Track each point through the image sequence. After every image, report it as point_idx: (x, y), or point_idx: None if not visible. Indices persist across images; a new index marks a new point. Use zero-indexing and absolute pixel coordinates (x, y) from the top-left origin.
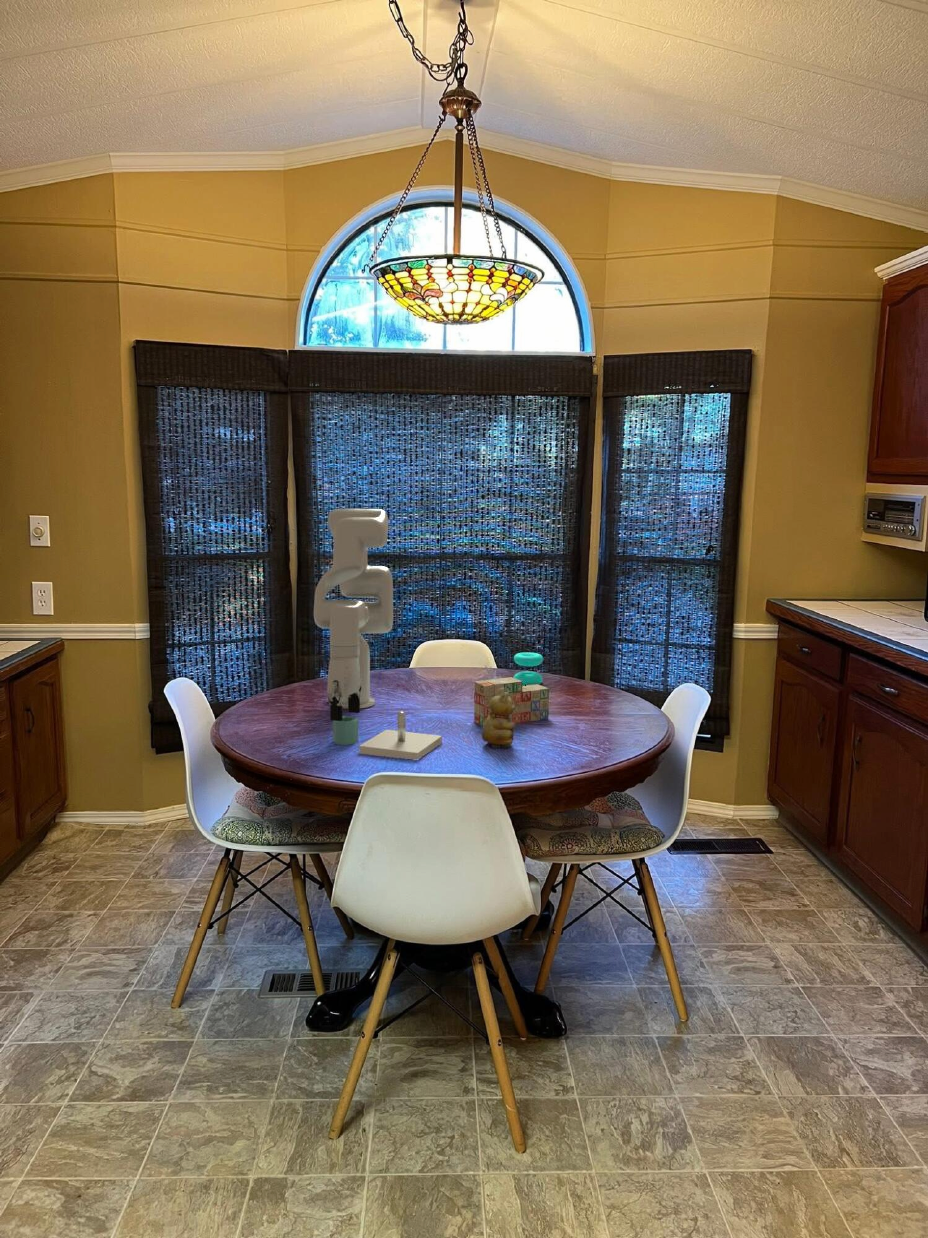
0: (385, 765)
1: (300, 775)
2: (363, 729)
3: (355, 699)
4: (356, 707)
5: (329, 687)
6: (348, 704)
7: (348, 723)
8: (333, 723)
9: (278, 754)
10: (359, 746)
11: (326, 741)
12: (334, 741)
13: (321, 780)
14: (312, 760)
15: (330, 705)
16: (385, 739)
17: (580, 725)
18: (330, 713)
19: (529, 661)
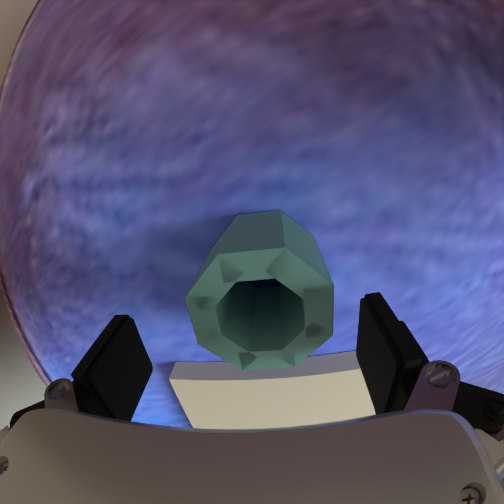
0: (153, 423)
1: (7, 307)
2: (445, 227)
3: (382, 406)
4: (366, 368)
5: (2, 474)
6: (378, 328)
7: (218, 351)
8: (220, 248)
9: (31, 153)
10: (169, 377)
11: (223, 184)
12: (226, 228)
13: (25, 351)
14: (54, 277)
15: (73, 373)
16: (273, 409)
17: None
18: (99, 336)
19: None
